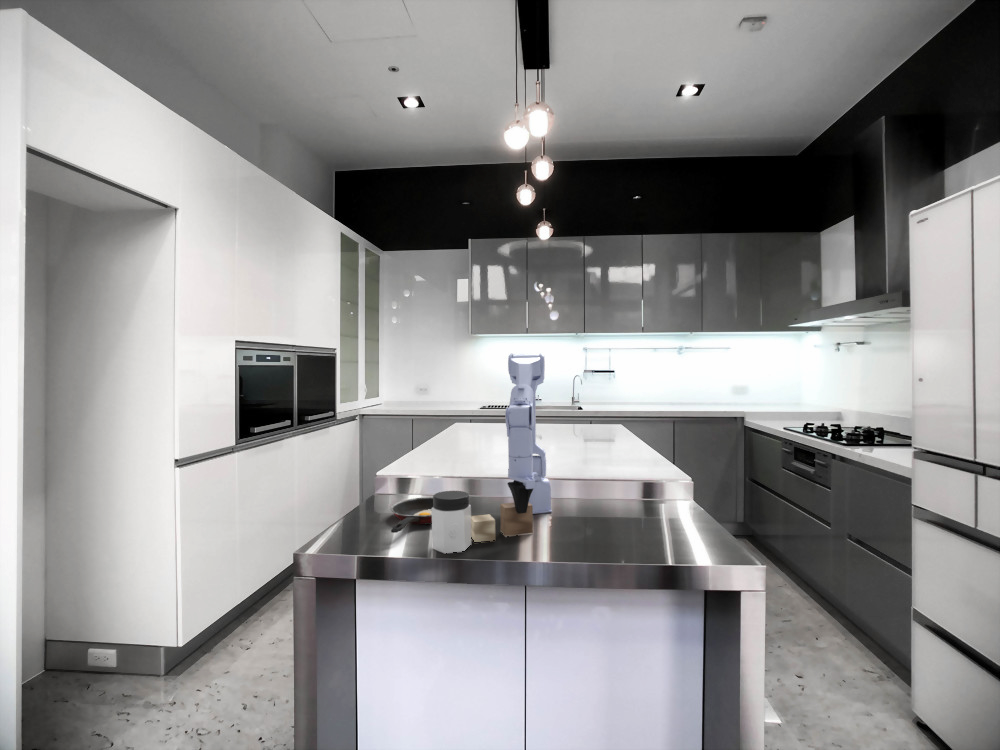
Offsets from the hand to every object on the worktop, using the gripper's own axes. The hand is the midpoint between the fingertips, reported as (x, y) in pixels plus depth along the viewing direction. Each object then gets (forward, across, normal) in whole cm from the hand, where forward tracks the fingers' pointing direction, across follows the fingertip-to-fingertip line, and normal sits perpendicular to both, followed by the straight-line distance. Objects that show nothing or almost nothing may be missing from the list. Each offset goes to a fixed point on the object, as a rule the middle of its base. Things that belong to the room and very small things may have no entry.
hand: (521, 512), depth 127 cm
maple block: (+6, +3, +9) cm, 11 cm away
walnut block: (+6, +4, 0) cm, 7 cm away
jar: (+6, -1, +17) cm, 18 cm away
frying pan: (+6, +19, +22) cm, 30 cm away
